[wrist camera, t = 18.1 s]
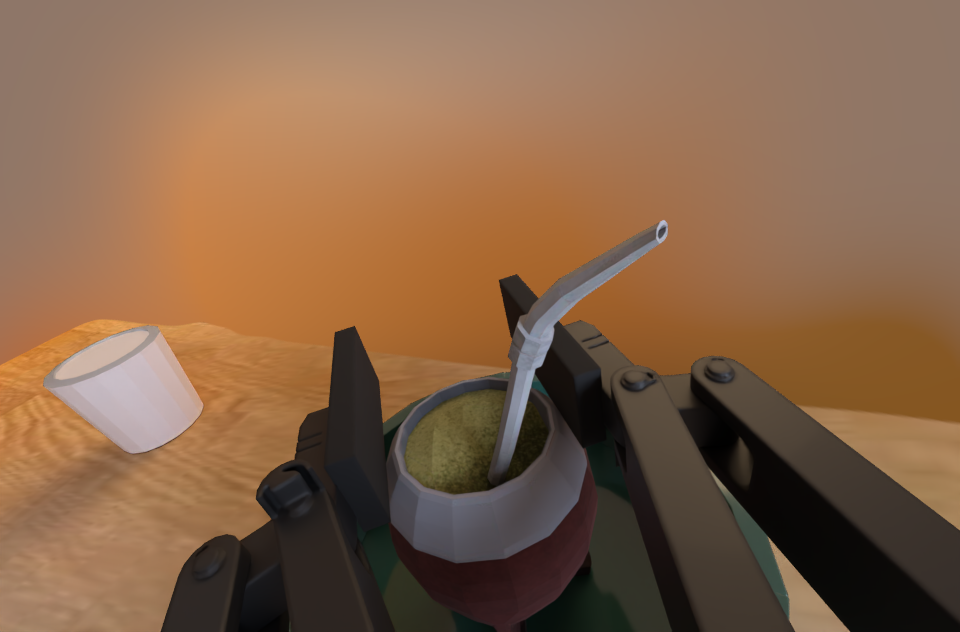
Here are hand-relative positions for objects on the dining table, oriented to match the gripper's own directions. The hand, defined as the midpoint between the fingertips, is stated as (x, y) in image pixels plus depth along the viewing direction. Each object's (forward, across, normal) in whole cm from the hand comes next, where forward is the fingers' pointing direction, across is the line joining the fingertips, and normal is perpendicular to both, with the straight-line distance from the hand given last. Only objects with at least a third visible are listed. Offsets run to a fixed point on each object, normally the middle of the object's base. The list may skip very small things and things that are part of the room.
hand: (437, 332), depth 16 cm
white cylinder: (+16, -22, -10) cm, 29 cm away
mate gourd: (-5, 0, -9) cm, 11 cm away
